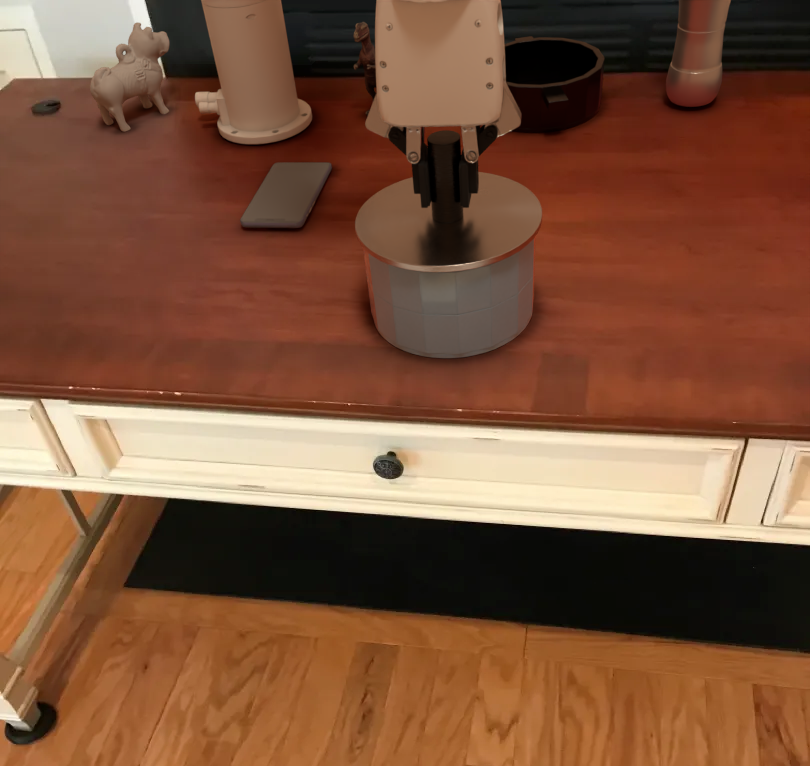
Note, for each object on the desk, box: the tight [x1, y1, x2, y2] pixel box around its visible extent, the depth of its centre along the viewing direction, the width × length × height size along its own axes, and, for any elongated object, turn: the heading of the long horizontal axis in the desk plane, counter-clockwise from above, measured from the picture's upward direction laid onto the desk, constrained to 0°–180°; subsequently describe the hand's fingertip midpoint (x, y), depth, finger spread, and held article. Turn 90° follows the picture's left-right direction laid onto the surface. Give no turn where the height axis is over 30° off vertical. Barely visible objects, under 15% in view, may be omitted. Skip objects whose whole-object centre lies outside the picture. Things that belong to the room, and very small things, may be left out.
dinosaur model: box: [353, 21, 377, 116], centre depth 117 cm, size 4×12×15 cm
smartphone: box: [239, 161, 333, 229], centre depth 105 cm, size 8×1×15 cm
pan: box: [504, 35, 606, 134], centre depth 115 cm, size 16×21×6 cm
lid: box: [354, 129, 543, 272], centre depth 78 cm, size 17×17×8 cm
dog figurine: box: [89, 21, 170, 132], centre depth 122 cm, size 5×13×11 cm, turn 138°
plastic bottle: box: [665, 0, 732, 108], centre depth 106 cm, size 6×7×20 cm
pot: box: [362, 237, 536, 359], centre depth 85 cm, size 16×16×9 cm
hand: (446, 198), depth 79 cm, fingers closed on lid, 2 cm apart
